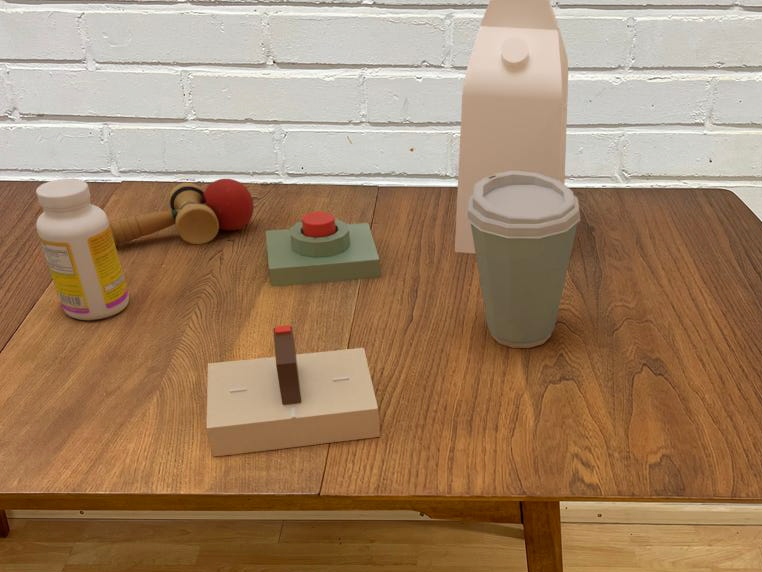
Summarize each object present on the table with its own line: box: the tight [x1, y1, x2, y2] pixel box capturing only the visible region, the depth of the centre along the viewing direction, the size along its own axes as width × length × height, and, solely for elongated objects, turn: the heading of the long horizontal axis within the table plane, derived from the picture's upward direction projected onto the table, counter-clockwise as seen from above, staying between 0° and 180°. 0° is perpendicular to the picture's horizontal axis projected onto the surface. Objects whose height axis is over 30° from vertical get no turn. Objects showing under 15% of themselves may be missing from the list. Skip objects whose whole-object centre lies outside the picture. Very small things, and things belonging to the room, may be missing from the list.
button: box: [301, 211, 336, 238], centre depth 99 cm, size 4×4×2 cm
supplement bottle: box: [35, 178, 130, 321], centre depth 89 cm, size 7×7×13 cm
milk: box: [454, 0, 569, 255], centre depth 100 cm, size 12×12×26 cm
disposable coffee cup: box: [466, 171, 581, 349], centre depth 85 cm, size 11×11×15 cm
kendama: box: [109, 178, 255, 247], centre depth 105 cm, size 8×6×18 cm
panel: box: [205, 347, 381, 458], centre depth 78 cm, size 14×10×3 cm
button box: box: [265, 218, 381, 288], centre depth 101 cm, size 12×10×4 cm
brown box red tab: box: [272, 324, 301, 405], centre depth 76 cm, size 6×2×4 cm, turn 12°
